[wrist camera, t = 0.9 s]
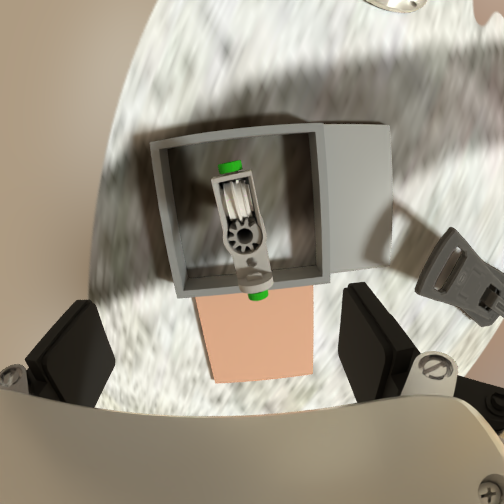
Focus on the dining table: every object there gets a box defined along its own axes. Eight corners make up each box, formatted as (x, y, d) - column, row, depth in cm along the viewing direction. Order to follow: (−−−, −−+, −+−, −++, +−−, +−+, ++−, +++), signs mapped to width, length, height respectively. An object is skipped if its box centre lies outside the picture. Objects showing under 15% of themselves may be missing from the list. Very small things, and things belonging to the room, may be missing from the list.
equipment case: (386, 125, 27) (399, 124, 24) (386, 263, 32) (398, 273, 29) (158, 142, 27) (149, 142, 24) (182, 285, 32) (177, 298, 30)
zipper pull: (454, 220, 24) (534, 297, 28) (420, 205, 30) (509, 279, 34) (410, 297, 26) (504, 346, 30) (385, 271, 33) (482, 325, 37)
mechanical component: (241, 257, 31) (239, 305, 22) (219, 161, 28) (206, 168, 19) (268, 252, 31) (278, 298, 22) (249, 155, 28) (251, 158, 18)
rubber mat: (311, 278, 32) (313, 280, 32) (311, 371, 37) (312, 373, 37) (195, 290, 33) (194, 292, 32) (215, 380, 37) (215, 383, 37)
